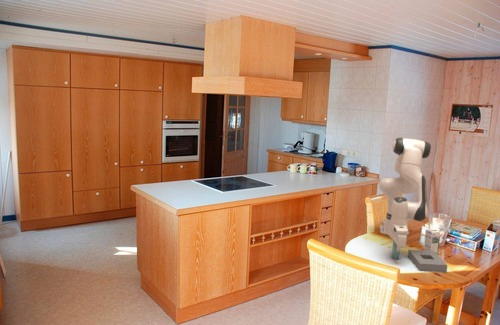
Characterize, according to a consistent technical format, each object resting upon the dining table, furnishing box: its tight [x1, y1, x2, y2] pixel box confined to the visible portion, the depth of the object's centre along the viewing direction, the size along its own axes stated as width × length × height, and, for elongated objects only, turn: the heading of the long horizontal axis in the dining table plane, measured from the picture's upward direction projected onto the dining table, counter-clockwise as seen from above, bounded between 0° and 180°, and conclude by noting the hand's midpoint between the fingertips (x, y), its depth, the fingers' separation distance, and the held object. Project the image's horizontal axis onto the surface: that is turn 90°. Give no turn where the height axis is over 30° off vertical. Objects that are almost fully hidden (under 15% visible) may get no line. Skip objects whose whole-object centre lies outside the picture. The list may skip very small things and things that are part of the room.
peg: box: [391, 239, 401, 260], centre depth 224 cm, size 4×4×10 cm
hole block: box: [407, 249, 448, 273], centre depth 218 cm, size 20×14×4 cm
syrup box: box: [423, 228, 441, 256], centre depth 232 cm, size 6×6×14 cm
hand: (396, 249), depth 224 cm, fingers closed on peg, 4 cm apart
